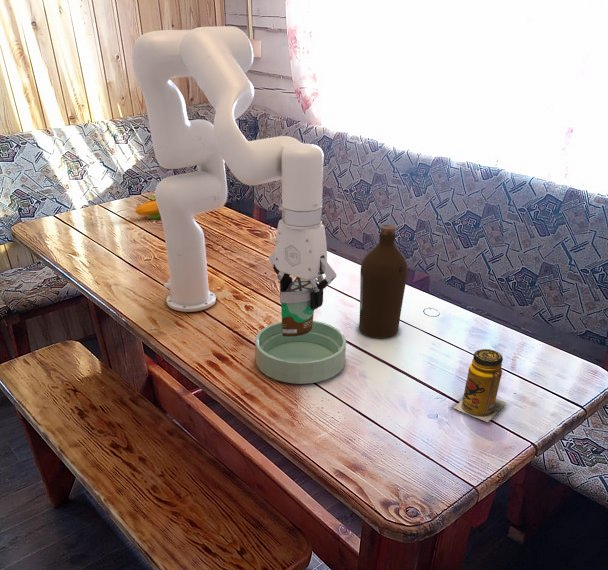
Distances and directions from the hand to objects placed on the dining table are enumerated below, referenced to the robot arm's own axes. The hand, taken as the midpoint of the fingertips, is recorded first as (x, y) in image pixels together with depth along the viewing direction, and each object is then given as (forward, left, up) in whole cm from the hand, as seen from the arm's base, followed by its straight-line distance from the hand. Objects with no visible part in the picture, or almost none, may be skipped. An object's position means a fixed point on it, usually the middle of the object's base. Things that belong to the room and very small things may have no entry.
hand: (301, 301), depth 121 cm
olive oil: (+5, +24, -15) cm, 29 cm away
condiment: (+38, +9, -15) cm, 42 cm away
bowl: (0, 0, -14) cm, 14 cm away
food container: (0, 0, -6) cm, 6 cm away
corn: (-102, +49, -15) cm, 114 cm away
